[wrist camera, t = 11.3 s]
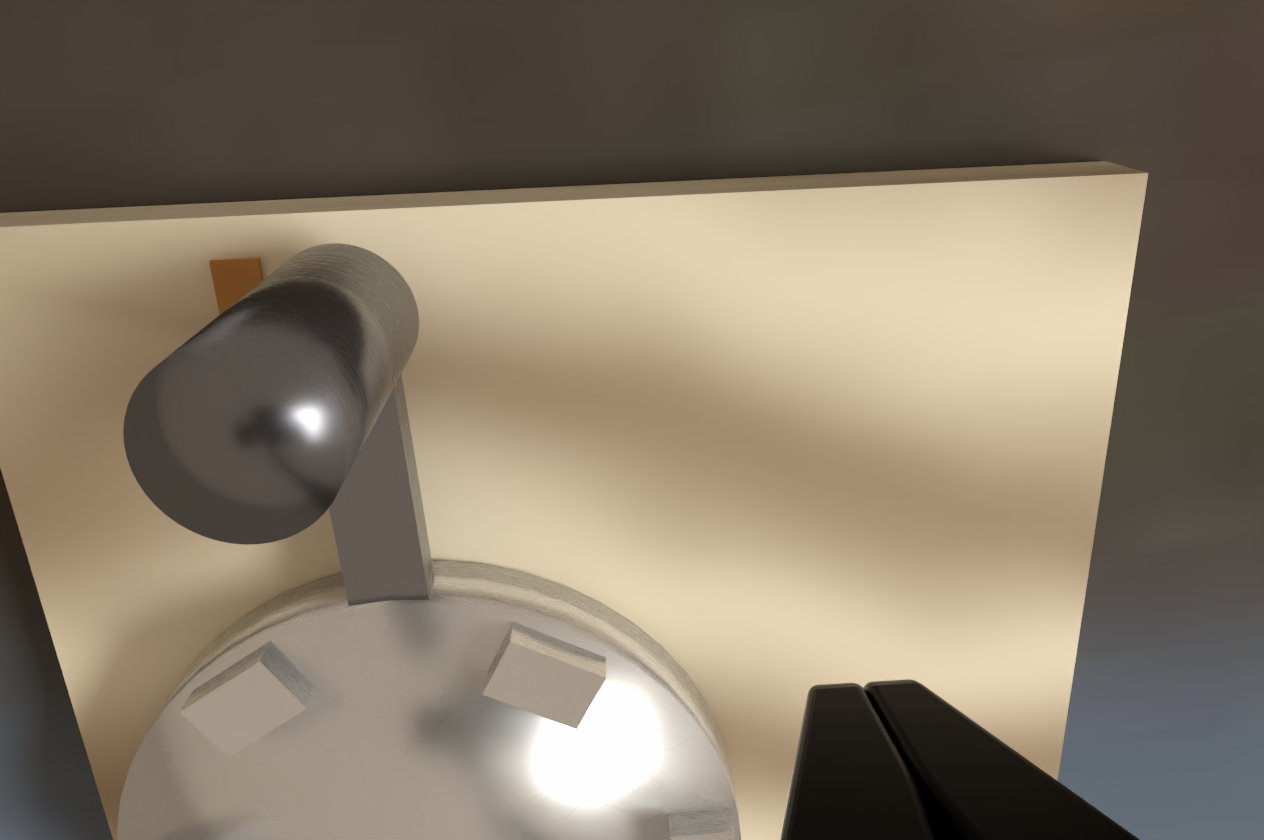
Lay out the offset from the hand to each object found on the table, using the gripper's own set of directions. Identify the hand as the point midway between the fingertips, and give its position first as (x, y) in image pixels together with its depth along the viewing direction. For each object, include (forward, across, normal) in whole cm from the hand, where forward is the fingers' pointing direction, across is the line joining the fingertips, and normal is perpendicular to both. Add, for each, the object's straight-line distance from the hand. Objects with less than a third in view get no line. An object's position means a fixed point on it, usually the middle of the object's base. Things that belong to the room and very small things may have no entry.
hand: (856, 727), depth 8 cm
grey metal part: (+10, +6, +7) cm, 14 cm away
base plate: (+12, +3, +9) cm, 15 cm away
